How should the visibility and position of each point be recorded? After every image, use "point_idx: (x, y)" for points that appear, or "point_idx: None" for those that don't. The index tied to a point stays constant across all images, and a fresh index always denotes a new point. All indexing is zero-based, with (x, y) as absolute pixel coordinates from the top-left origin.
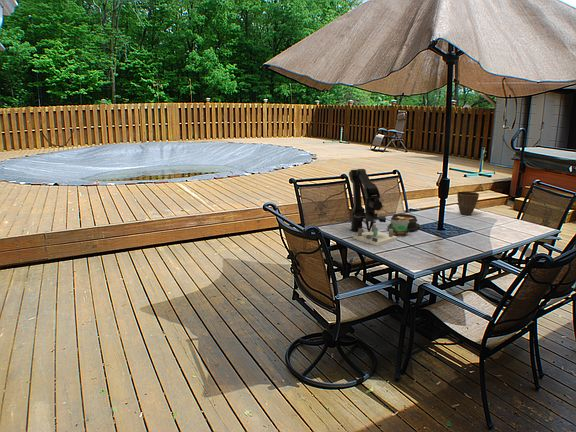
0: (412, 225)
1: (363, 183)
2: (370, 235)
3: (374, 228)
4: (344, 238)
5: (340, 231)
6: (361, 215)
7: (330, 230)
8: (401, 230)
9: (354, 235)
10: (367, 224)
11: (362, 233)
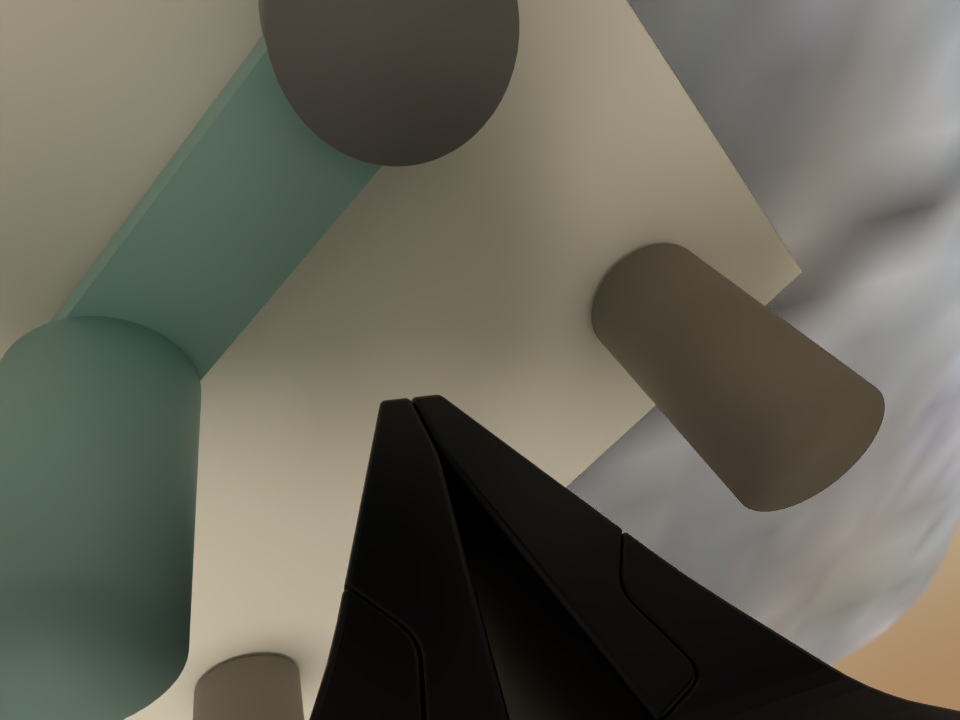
0: None
1: None
2: (321, 90)
3: (113, 579)
4: (913, 206)
5: (795, 551)
6: None
7: (898, 540)
8: None
9: (778, 277)
10: (735, 695)
11: None
